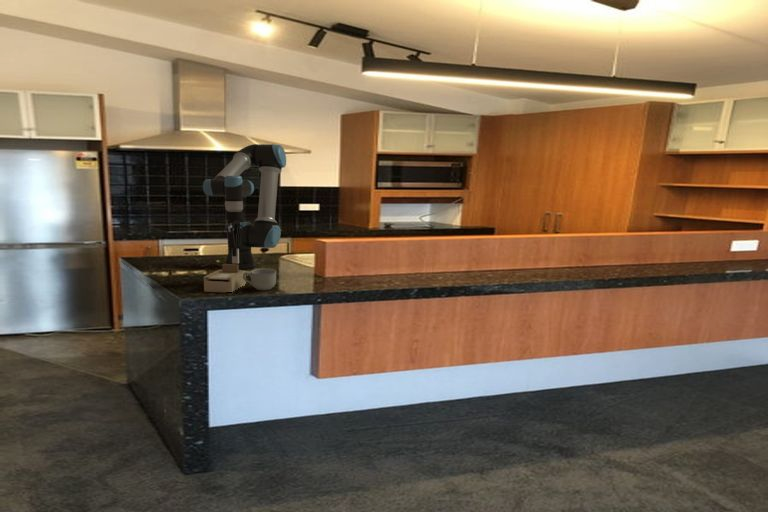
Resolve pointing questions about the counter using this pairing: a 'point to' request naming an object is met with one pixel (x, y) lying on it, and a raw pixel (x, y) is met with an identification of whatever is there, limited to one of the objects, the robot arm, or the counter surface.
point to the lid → (226, 272)
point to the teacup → (262, 278)
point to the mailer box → (224, 282)
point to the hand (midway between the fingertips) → (235, 263)
